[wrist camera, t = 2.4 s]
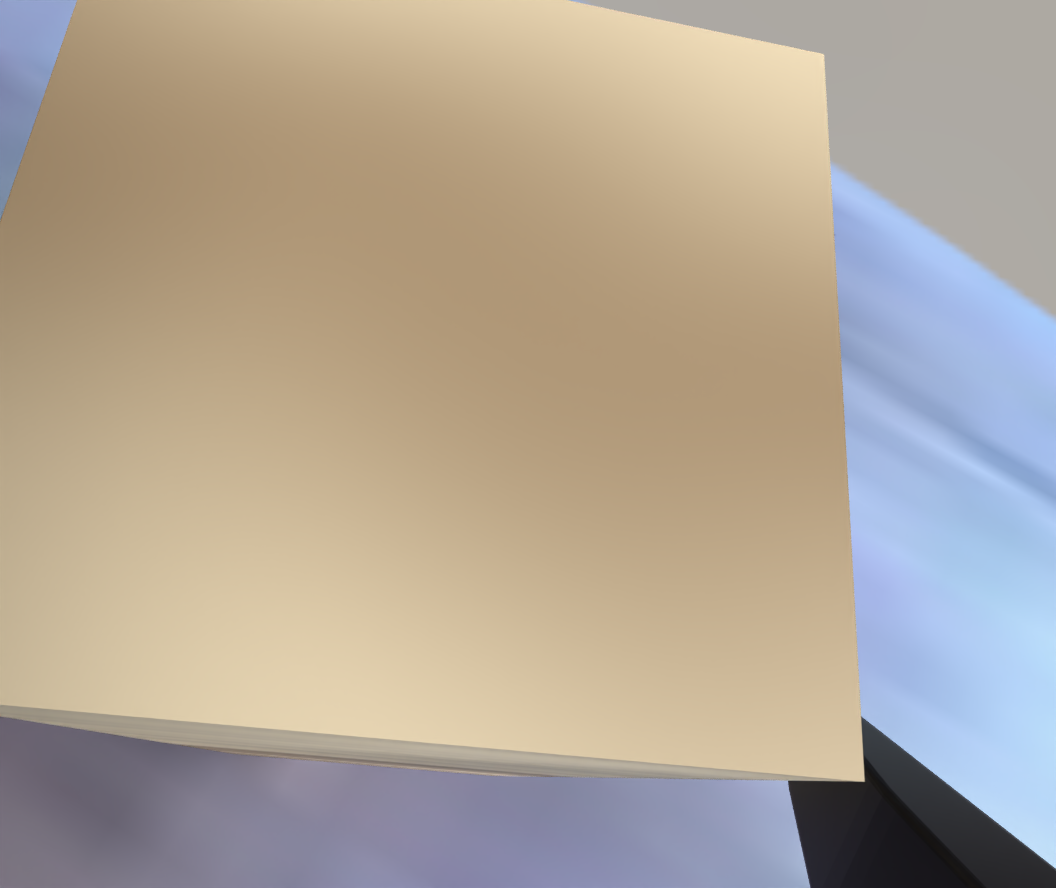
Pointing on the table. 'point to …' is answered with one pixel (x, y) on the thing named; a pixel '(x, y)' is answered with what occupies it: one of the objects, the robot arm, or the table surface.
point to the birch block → (429, 393)
